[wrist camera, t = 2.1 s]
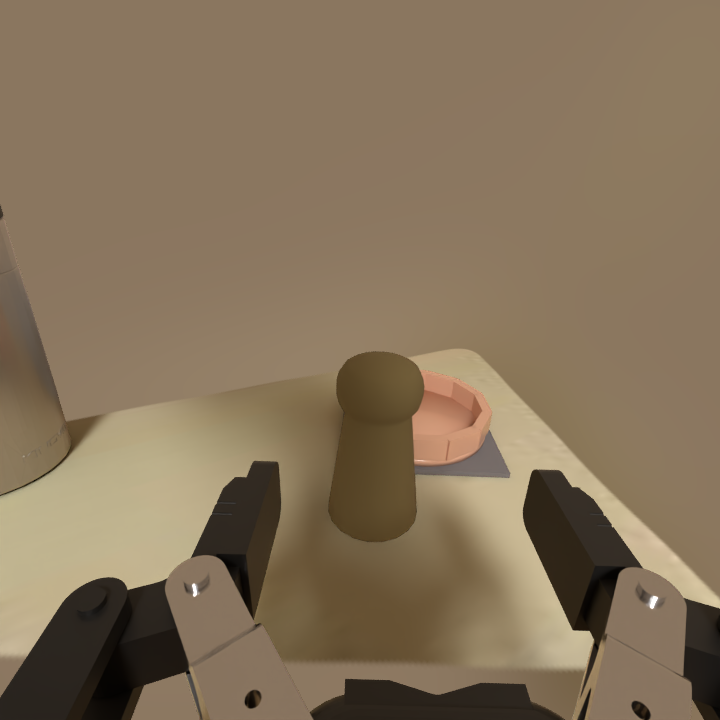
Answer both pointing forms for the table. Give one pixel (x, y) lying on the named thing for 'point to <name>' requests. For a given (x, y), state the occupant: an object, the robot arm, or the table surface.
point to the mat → (474, 463)
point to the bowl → (448, 421)
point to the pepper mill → (376, 447)
